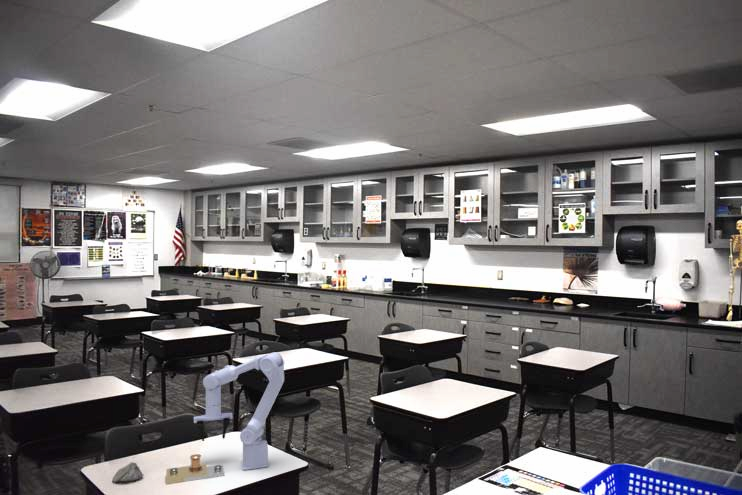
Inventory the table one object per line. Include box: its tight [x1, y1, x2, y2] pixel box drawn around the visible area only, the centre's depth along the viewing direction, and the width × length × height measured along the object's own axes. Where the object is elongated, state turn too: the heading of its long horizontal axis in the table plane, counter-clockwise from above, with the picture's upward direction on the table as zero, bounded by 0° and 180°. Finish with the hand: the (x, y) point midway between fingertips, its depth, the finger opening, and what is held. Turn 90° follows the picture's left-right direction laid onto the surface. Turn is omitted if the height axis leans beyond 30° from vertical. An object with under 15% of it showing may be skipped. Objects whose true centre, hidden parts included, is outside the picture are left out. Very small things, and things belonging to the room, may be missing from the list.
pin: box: [189, 453, 202, 472], centre depth 196 cm, size 4×4×7 cm
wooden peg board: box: [165, 463, 225, 485], centre depth 195 cm, size 20×8×3 cm, turn 110°
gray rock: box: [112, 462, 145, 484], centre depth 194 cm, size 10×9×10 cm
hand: (213, 438), depth 207 cm, fingers open, 7 cm apart
